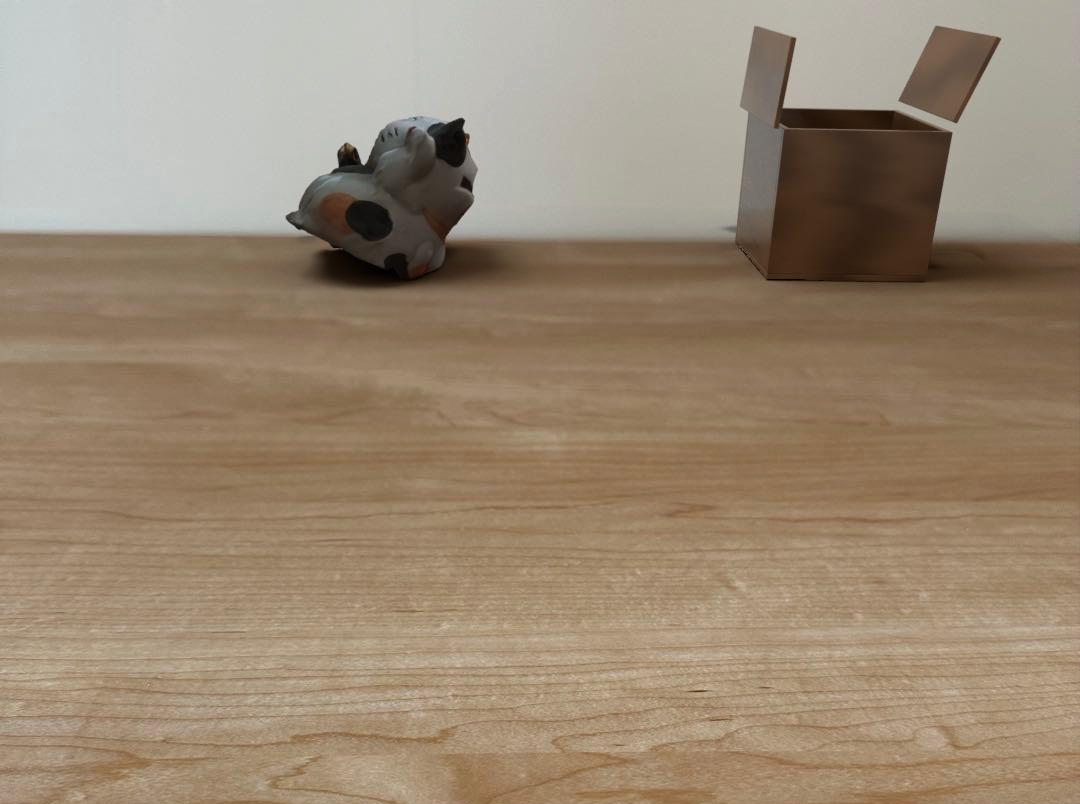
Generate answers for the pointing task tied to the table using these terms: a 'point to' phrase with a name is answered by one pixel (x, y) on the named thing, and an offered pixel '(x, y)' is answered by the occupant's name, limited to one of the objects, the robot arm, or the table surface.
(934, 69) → the flap
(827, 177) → the carton
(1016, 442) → the table surface
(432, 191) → the lucky cat figurine
